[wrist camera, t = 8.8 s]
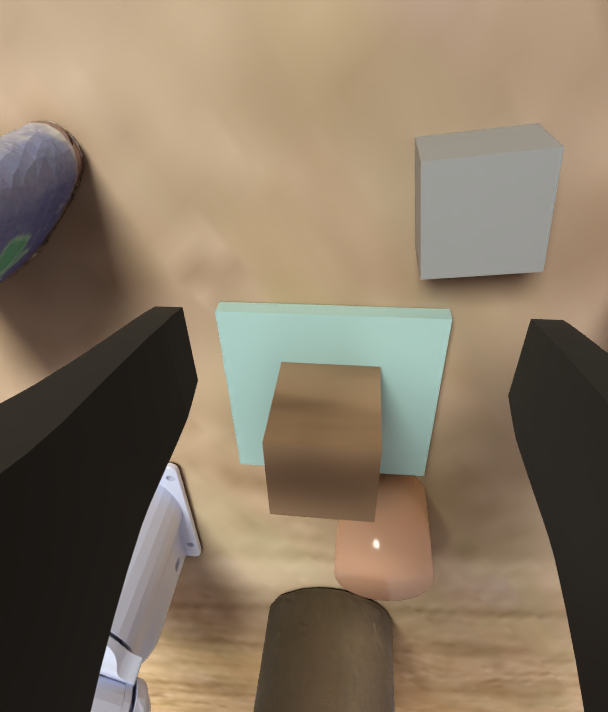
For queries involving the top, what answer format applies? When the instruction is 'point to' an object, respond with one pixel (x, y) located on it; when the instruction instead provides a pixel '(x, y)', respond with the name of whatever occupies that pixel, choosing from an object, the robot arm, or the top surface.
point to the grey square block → (485, 200)
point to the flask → (34, 189)
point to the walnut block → (324, 441)
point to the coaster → (341, 347)
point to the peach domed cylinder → (388, 544)
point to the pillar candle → (326, 654)
